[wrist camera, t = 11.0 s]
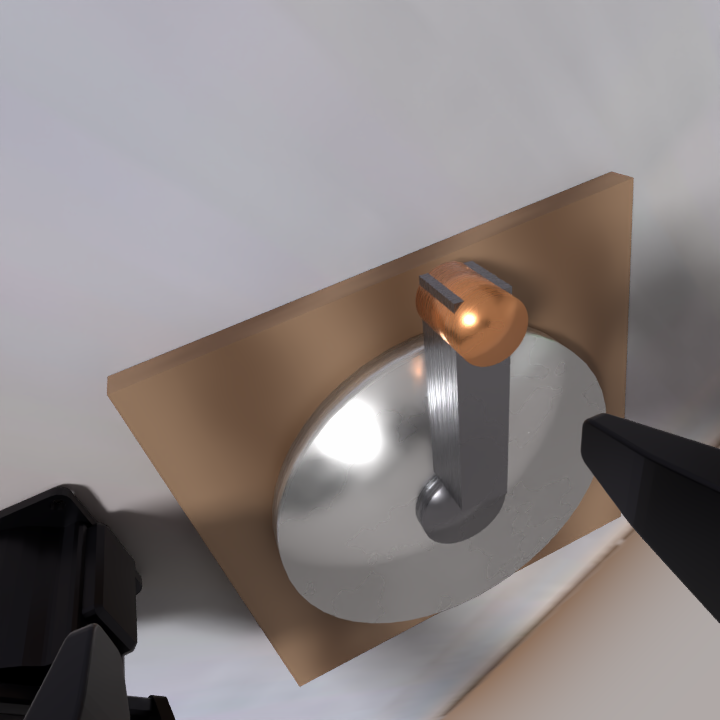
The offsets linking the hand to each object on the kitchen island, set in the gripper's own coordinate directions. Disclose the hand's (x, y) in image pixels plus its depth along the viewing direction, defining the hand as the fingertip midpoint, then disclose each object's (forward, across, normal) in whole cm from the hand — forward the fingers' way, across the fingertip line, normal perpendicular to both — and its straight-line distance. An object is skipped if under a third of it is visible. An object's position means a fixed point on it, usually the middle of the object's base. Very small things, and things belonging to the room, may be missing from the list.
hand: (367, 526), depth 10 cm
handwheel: (+10, -6, +10) cm, 16 cm away
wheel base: (+12, -6, +12) cm, 18 cm away
